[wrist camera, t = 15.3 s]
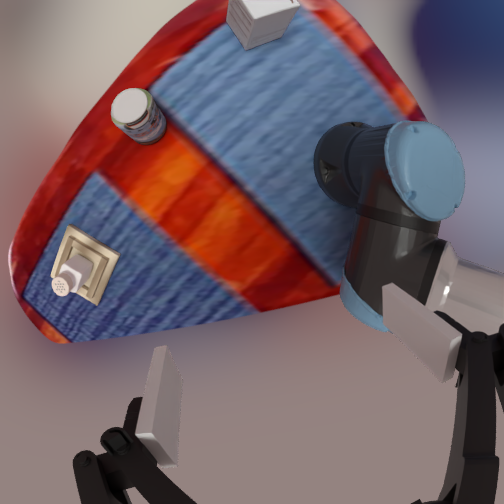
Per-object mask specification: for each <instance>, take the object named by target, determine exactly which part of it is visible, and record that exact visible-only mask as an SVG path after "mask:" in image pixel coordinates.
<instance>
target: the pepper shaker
mask: <svg viewBox="0 0 504 504" xmlns="http://www.w3.org/2000/svg"><path fill="white" fill-rule="evenodd" d="M92 268H93V263H92V262H91V261H89V260H87V259H86V258H84V257H82V256H81V255H79V254H76V255H74V256H73V257H72V258H70V259H69V260H68V261H66V262H65V263H64V264H63V265H62V266H61V269H60V272H59V275H57V276H56V277H55V278H54V279H53V281H52V288H53V290H54V292H55V293H56V294H57V295H59V296H66V295H67V294H68V293H69V292H70V291H71V292H75V293H76V292H77V291H78V290H79V289H80V288H81V287H82V286H83V285H84V283H85V282H86V281H87V280H88V279H89V276H90V273H91V271H92Z"/></svg>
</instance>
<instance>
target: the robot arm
mask: <svg viewBox="0 0 504 504" xmlns="http://www.w3.org/2000/svg"><path fill="white" fill-rule="evenodd" d="M314 170H315V175H316V178H317V181H318V183H319V185H320V187H321V188H322V190H323V191H324V192H325V194H326V195H327V196H328V197H330V198H331V199H332V200H334V201H335V202H337V203H339V204H342V205H345V206H348V207H354V208H357V211H356V215H355V220H354V225H353V230H352V235H351V239H350V244H349V248H348V253H347V257H346V261H345V264H344V266H343V269H342V274H343V277H342V282H341V287H340V297H341V300H342V302H343V304H344V306H345V307H346V309H347V310H348V311H349V312H350V313H351V314H352V315H353V316H354V317H355V318H356V319H358V320H360V321H361V322H362V323H364V324H366V325H368V326H370V327H372V328H374V329H376V330H379V331H382V332H387V331H389V332H391V333H392V334H394V335H395V336H396V337H397V338H398V339H399V340H400V341H401V342H402V343H403V344H404V345H405V346H406V347H407V348H408V349H409V350H410V351H411V352H412V353H413V354H414V355H415V356H416V357H417V358H418V359H419V360H420V361H421V362H422V363H423V364H424V365H425V366H426V367H427V368H428V369H429V370H430V371H431V372H432V374H434V376H436V378H437V379H438V380H439V381H440V382H441V383H444V382H446V381H447V380H449V379H451V378H452V377H453V375H454V371H455V368H456V369H457V370H458V371H459V376H458V379H457V383H456V387H457V386H458V389H457V403H456V415H455V424H454V431H453V438H452V445H451V451H450V457H449V462H448V467H447V472H446V476H445V480H444V485H443V488H442V491H441V493H440V495H439V498H438V500H437V501H429V502H424V503H422V502H421V500H420V499H419V500H417V501H415V502H413V503H411V504H494V501H495V494H496V488H497V480H498V472H499V458H498V457H497V456H495V443H496V442H495V441H496V396H495V395H496V394H495V387H496V390H497V393H498V396H499V399H500V402H501V405H502V408H503V412H504V273H502V272H499V271H496V270H493V269H490V268H487V267H484V266H482V265H479V264H476V263H473V262H470V261H467V260H464V259H461V258H459V257H458V256H457V255H456V253H455V251H454V249H453V247H452V245H451V243H450V242H448V241H445V240H442V239H439V238H438V237H437V236H438V231H439V227H440V222H441V220H443V219H446V218H448V217H450V216H451V215H452V214H453V213H454V212H455V210H454V208H458V207H459V205H460V203H461V201H462V197H463V194H464V188H465V172H464V166H463V162H462V159H461V156H460V153H459V152H458V151H457V149H456V146H455V144H454V142H453V140H452V139H451V138H450V137H449V135H448V134H447V133H446V132H444V131H443V130H442V129H440V128H439V127H438V126H436V125H434V124H432V123H429V122H424V121H415V122H413V121H400V122H398V123H395V124H389V125H384V126H379V127H372V126H370V125H367V124H365V123H361V122H346V123H342V124H339V125H336V126H334V127H332V128H331V129H329V130H328V131H327V132H326V133H325V134H324V135H323V136H322V137H321V139H320V141H319V142H318V144H317V147H316V150H315V154H314ZM182 385H183V379H182V377H181V375H180V373H179V371H178V369H177V366H176V364H175V362H174V360H173V358H172V356H171V353H170V351H169V349H168V346H167V345H165V346H161V347H156V348H155V349H154V353H153V357H152V361H151V365H150V369H149V373H148V377H147V382H146V386H145V390H144V395H143V397H137V398H133V400H132V401H131V403H130V404H129V406H128V410H127V414H126V417H125V419H126V420H125V421H124V426H123V428H120V427H114V428H110V429H108V430H107V431H105V432H104V433H103V435H102V436H101V440H100V442H101V445H102V446H103V447H104V449H105V450H106V451H107V453H103V454H100V455H95V454H94V453H93V452H91V451H88V450H85V451H81V452H79V453H78V454H77V455H76V456H75V457H74V459H73V469H74V474H75V479H76V483H77V488H78V492H79V496H80V499H81V504H132V503H131V501H130V498H129V496H128V494H127V491H126V489H128V488H132V487H136V489H137V490H138V491H139V492H140V493H141V495H142V496H143V497H144V498H145V499H146V500H147V501H148V502H149V503H150V504H197V503H196V502H194V501H193V500H192V499H191V498H190V497H189V496H188V495H186V494H185V493H184V492H183V491H182V490H181V489H180V488H179V487H178V486H176V485H175V484H174V483H173V482H172V481H171V480H170V479H169V478H168V477H167V476H166V475H165V474H164V473H163V472H162V471H161V470H160V469H159V468H158V467H157V462H158V464H159V465H160V466H161V467H162V468H170V467H177V466H178V444H179V443H178V442H179V427H180V411H181V397H182Z"/></svg>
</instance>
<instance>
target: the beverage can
mask: <svg viewBox="0 0 504 504" xmlns="http://www.w3.org/2000/svg"><path fill="white" fill-rule="evenodd" d="M111 117H112V120H113V122H114V124H115V125H116V126H117V127H118V128H120V129H121V130H122V131H123V132H125V133H126V134H127V135H128V136H130V137H131V138H132V139H133V140H135V141H136V142H137V143H139V144H142V145H150V144H153V143H155V142H157V141H158V140H159V139H161V137H162V136H163V135H164V133H165V131H166V119H165V117H164V115H163V114H162V112H161V111H160V109H159V107H158V106H157V104H156V102H155V101H154V99H153V97H152V96H151V94H150V93H149V92H147V91H146V90H143V89H140V88H131V89H127V90H124V91H122V92H121V93H120V94H119V95H118V96H117V97H116V98H115V99H114V101H113V104H112V109H111Z"/></svg>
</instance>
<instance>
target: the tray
mask: <svg viewBox="0 0 504 504" xmlns="http://www.w3.org/2000/svg"><path fill="white" fill-rule="evenodd" d="M76 254H79V255H81V256H82V257H84V258H86V259H87V260H89V261H91V262H92V263H93V268H92V271H91V273H90V276H89V279H88V280H87V281H86V282H85V283H84V285H83V286H82V287H81V288H80V289H79V290H78V291H77V292H76V293H77V294H79V295H81V296H82V297H84V298H85V299H87V300H89V301H90V302H92V303H94V304H95V305H98V304H99V302H100V300H101V297H102V295H103V293H104V290H105V288H106V286H107V283H108V281H109V279H110V276H111V274H112V272H113V270H114V267H115V265H116V263H117V261H118V259H119V257H120V253H118V252H116V251H115V250H113V249H111V248H110V247H108V246H106V245H105V244H103V243H101V242H100V241H98V240H96V239H95V238H93V237H91V236H90V235H88V234H87V233H85V232H83V231H82V230H80V229H79V228H77V227H75V226H74V225H72V224H69V225H68V227H67V229H66V232H65V235H64V237H63V240H62V243H61V246H60V248H59V251H58V254H57V257H56V260H55V263H54V266H53V269H52V272H51V277H52V278H55V277H56V276H57V275H59V272H60V269H61V266H62V265H63V264H64V263H65V262H66V261H68V260H69V259H70V258H72V257H73V256H74V255H76Z"/></svg>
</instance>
